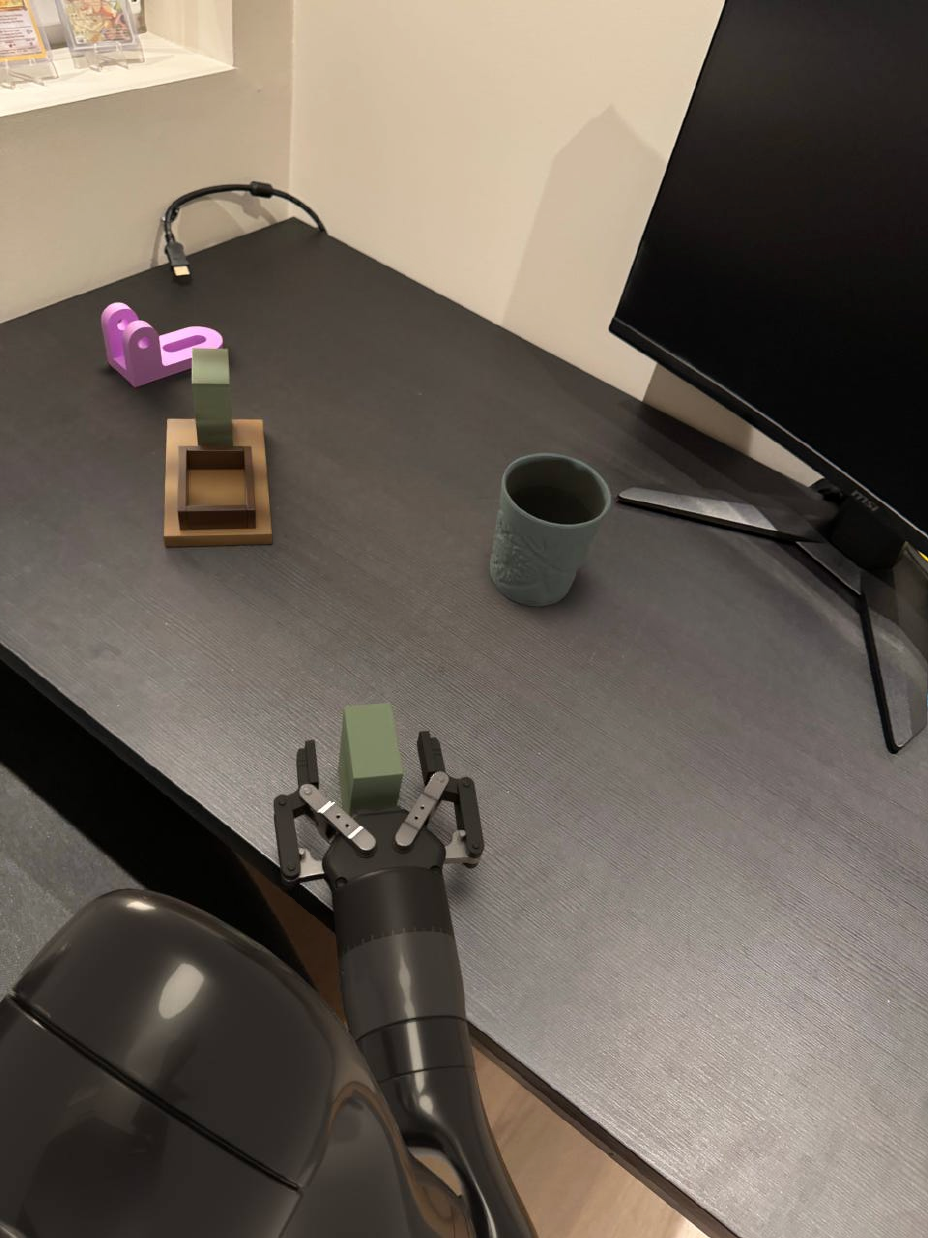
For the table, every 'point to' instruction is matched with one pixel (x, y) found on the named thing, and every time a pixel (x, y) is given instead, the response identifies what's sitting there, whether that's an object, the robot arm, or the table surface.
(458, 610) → the table surface
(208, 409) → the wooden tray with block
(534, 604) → the grey green embossed cup
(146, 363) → the bracket
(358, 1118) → the robot arm
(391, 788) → the green rectangular block
